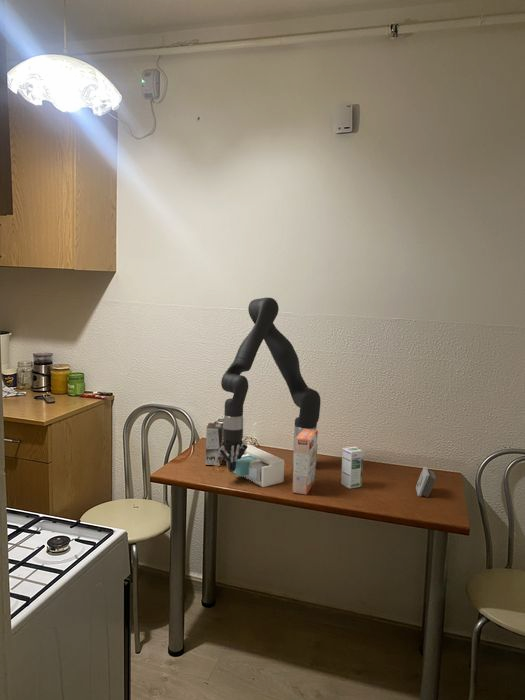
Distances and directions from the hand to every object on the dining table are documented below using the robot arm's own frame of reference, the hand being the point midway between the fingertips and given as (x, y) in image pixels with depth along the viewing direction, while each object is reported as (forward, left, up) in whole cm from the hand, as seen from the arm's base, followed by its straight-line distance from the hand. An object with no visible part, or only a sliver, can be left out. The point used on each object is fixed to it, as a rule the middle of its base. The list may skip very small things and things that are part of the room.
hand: (231, 470), depth 197 cm
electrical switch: (-54, +48, -4) cm, 73 cm away
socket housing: (-11, 0, -4) cm, 12 cm away
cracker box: (-19, +20, -4) cm, 28 cm away
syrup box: (-36, +28, -4) cm, 46 cm away
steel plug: (-9, +7, -2) cm, 12 cm away
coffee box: (-5, -21, -4) cm, 22 cm away
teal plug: (-7, 0, -2) cm, 8 cm away
